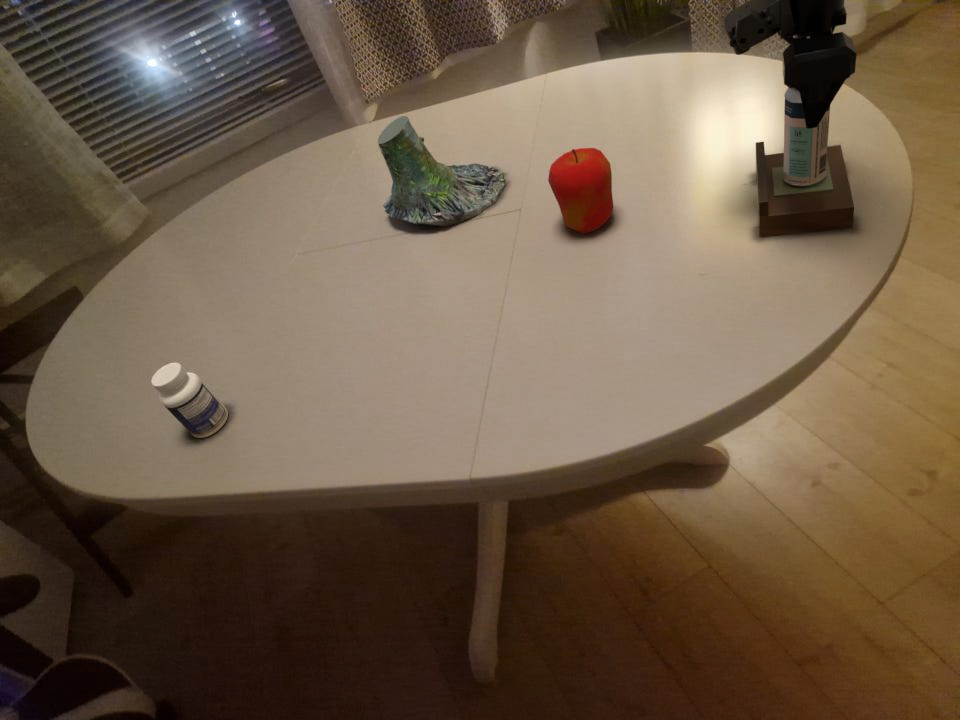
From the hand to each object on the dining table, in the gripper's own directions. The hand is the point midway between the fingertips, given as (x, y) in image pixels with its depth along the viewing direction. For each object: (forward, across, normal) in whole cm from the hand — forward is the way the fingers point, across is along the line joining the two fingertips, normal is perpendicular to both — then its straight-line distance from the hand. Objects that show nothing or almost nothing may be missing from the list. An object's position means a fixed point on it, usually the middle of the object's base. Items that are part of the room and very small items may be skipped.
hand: (808, 107), depth 74 cm
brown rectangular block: (+12, 0, 0) cm, 12 cm away
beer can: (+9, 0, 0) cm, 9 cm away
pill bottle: (+12, +37, -74) cm, 83 cm away
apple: (+12, 0, -27) cm, 30 cm away
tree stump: (+12, -11, -53) cm, 56 cm away
